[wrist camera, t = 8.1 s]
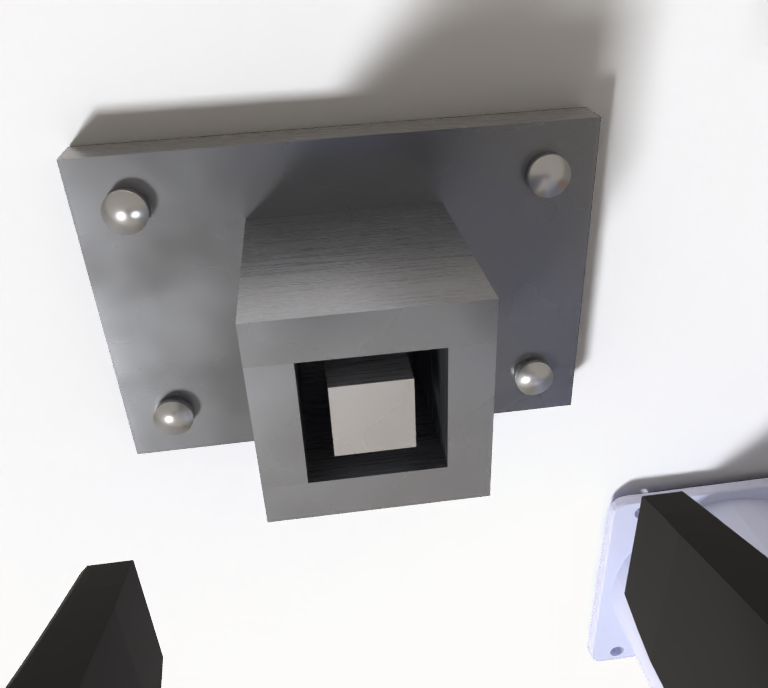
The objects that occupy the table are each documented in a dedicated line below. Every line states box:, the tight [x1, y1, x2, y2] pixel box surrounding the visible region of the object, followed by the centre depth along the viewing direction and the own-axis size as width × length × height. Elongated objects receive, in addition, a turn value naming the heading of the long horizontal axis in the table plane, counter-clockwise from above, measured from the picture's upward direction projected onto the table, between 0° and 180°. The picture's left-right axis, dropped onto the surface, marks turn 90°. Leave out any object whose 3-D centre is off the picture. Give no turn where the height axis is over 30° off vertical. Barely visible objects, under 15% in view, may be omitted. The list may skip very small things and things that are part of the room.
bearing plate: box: [57, 107, 601, 456], centre depth 16 cm, size 12×8×6 cm, turn 93°
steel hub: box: [236, 203, 499, 522], centre depth 16 cm, size 5×5×5 cm
